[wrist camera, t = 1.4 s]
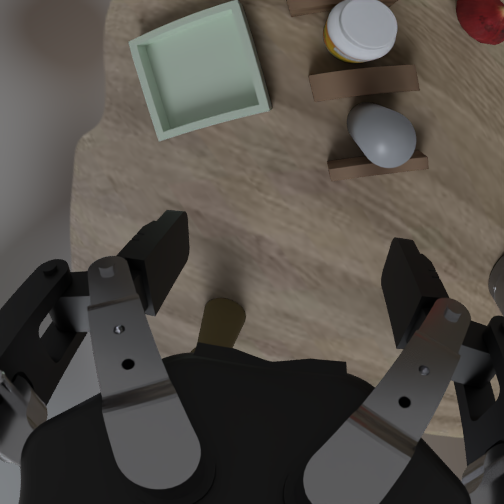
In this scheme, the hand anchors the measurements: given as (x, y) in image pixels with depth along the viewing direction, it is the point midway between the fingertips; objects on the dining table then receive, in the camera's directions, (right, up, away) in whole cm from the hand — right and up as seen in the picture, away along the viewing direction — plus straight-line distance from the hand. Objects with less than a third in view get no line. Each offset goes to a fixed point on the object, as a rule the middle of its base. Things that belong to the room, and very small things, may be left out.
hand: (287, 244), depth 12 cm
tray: (-6, +18, +15) cm, 24 cm away
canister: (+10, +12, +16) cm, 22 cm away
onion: (+21, +24, +7) cm, 32 cm away
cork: (-5, -9, +32) cm, 34 cm away
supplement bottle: (+8, +20, +12) cm, 24 cm away
